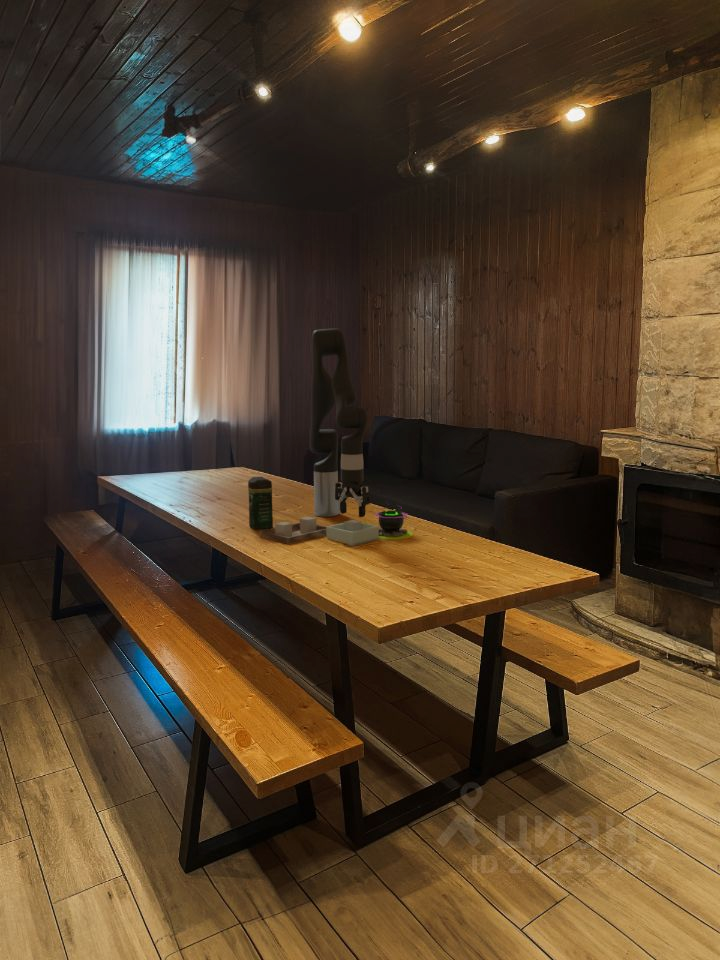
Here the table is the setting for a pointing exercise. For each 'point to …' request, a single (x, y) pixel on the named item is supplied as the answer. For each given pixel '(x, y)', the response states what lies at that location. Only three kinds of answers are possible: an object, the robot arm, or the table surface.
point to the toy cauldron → (392, 525)
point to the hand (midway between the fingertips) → (352, 515)
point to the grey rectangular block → (307, 524)
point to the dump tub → (353, 534)
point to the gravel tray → (294, 534)
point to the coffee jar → (260, 503)
